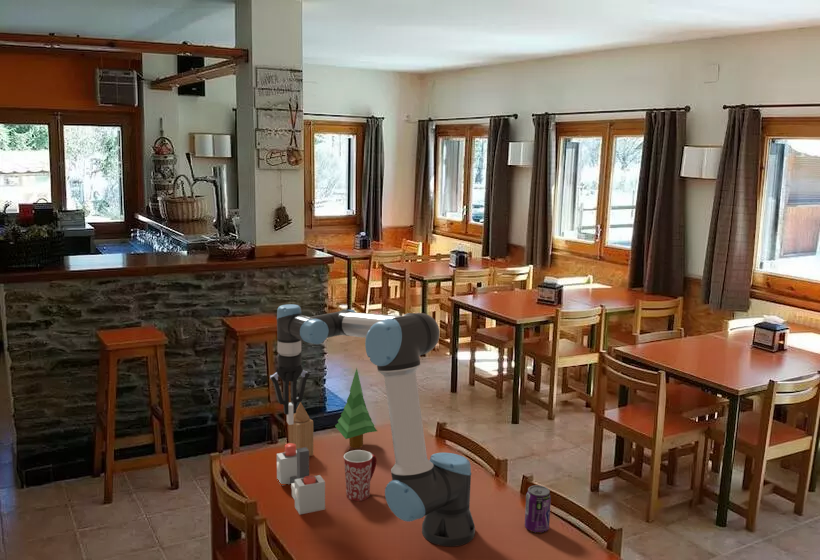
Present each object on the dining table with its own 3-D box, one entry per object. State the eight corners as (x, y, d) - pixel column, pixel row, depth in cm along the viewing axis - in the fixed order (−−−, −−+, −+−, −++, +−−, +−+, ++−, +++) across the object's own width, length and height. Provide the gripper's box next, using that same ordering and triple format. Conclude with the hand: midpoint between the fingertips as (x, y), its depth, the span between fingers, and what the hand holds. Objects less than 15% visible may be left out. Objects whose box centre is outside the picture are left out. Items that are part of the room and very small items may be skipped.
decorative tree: (382, 441, 274) (383, 364, 269) (362, 457, 260) (363, 376, 255) (350, 435, 280) (350, 359, 274) (329, 450, 266) (329, 370, 260)
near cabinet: (325, 509, 223) (325, 481, 221) (298, 514, 219) (298, 486, 218) (319, 502, 227) (319, 474, 225) (294, 507, 224) (293, 479, 222)
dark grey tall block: (315, 500, 228) (315, 451, 225) (296, 504, 225) (296, 454, 222) (309, 492, 233) (309, 444, 230) (291, 495, 231) (290, 447, 228)
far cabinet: (304, 481, 241) (304, 455, 239) (280, 485, 237) (280, 459, 236) (300, 475, 245) (300, 449, 244) (276, 479, 242) (275, 453, 240)
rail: (310, 503, 226) (310, 496, 225) (304, 505, 225) (304, 497, 225) (296, 483, 240) (295, 475, 239) (290, 484, 239) (289, 476, 238)
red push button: (297, 455, 239) (297, 446, 238) (286, 457, 237) (286, 448, 237) (294, 451, 242) (294, 442, 242) (283, 452, 241) (283, 444, 240)
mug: (358, 505, 225) (358, 464, 223) (337, 496, 231) (337, 456, 229) (385, 491, 235) (386, 452, 232) (365, 482, 241) (365, 444, 238)
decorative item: (303, 449, 266) (303, 397, 262) (314, 455, 261) (313, 402, 257) (288, 454, 261) (287, 401, 258) (298, 460, 257) (298, 406, 253)
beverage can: (543, 537, 209) (545, 498, 207) (520, 530, 213) (522, 491, 211) (552, 526, 215) (554, 488, 213) (530, 519, 219) (532, 482, 217)
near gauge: (317, 488, 221) (317, 479, 221) (305, 491, 220) (305, 481, 219) (313, 483, 224) (313, 474, 224) (302, 485, 223) (302, 476, 222)
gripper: (305, 347, 240) (306, 416, 244) (266, 352, 234) (267, 421, 238) (312, 354, 233) (312, 424, 237) (272, 358, 227) (273, 430, 232)
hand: (290, 423), depth 238 cm, fingers closed
